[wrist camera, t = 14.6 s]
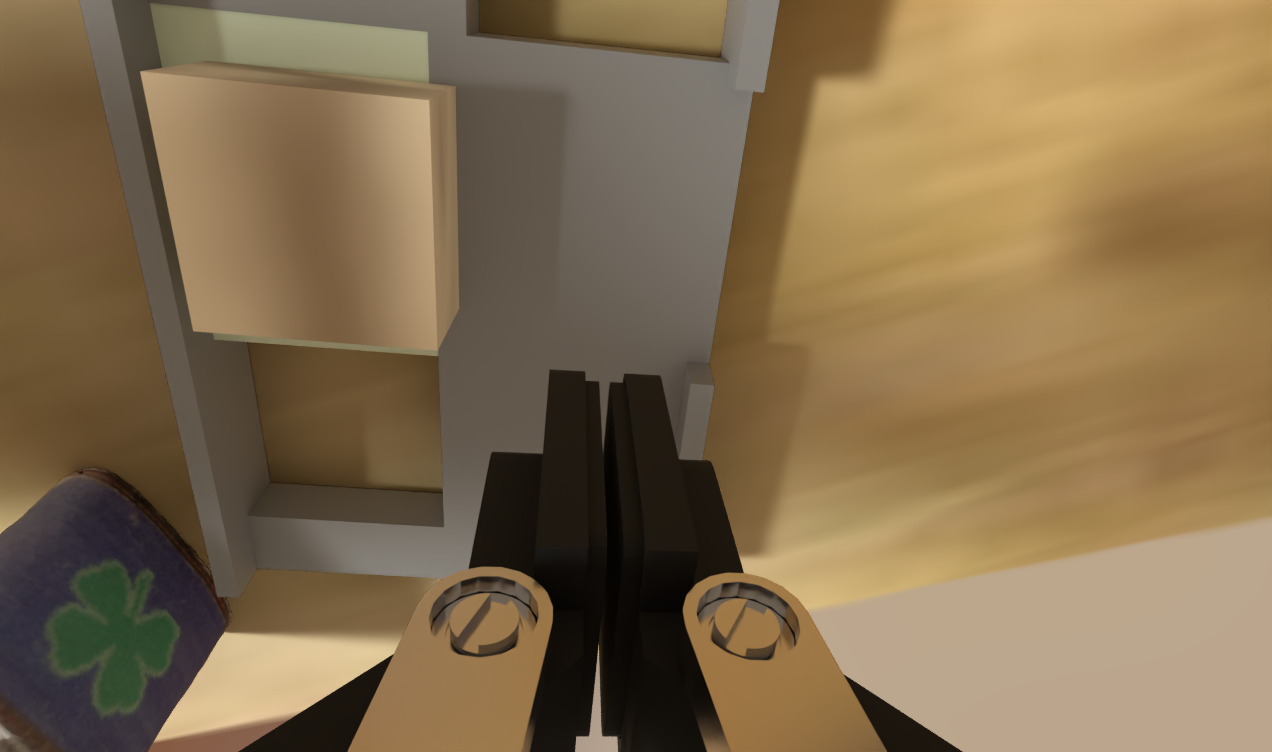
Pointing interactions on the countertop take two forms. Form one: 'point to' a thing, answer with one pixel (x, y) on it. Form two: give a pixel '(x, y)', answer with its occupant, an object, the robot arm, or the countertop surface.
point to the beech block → (310, 202)
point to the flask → (98, 620)
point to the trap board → (487, 250)
